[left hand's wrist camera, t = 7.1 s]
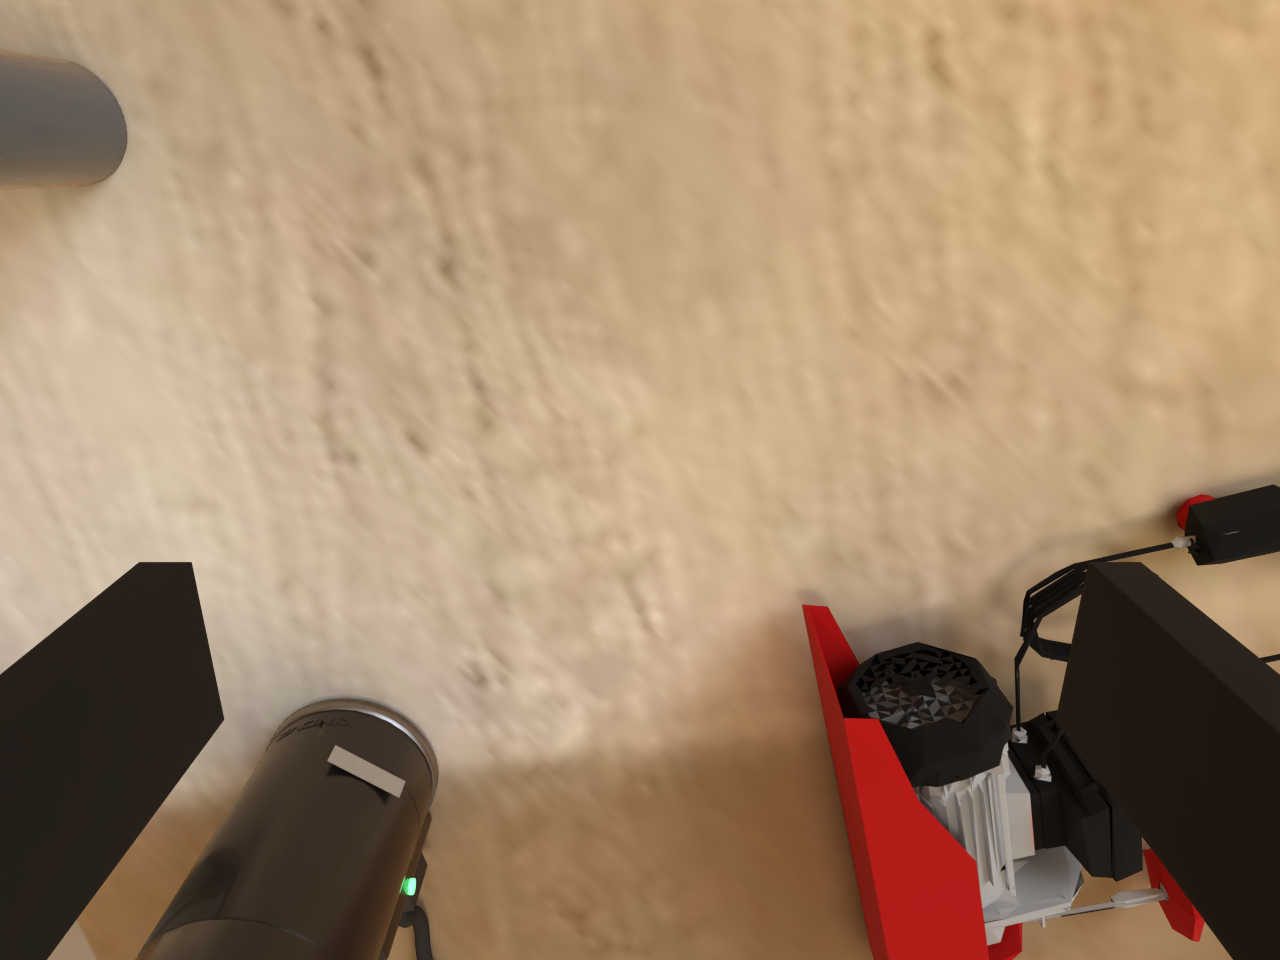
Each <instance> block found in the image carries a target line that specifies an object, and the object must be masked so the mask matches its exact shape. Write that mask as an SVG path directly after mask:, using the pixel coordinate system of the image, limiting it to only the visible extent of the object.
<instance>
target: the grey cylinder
mask: <svg viewBox="0 0 1280 960" xmlns="http://www.w3.org/2000/svg"><path fill="white" fill-rule="evenodd" d="M126 141H127V133H126V125H125V120H124V117H123V114H122V111H121V108H120V106H119V104H118V102H117V100H116V99H115V97H114V96H113V94H112V93H111V91H110V90H109V89H108V87H107V86H106V85H105V84H104V83H103V82H102V81H101V80H100V79H99V78H98V77H97V76H95V75H94V74H93V73H92V72H90V71H89V70H87V69H85V68H84V67H82V66H80V65H78V64H75V63H72V62H70V61H65V60H61V59H55V58H49V57H43V56H37V55H31V54H25V53H19V52H13V51H7V50H1V49H0V190H3V189H22V188H42V187H62V186H81V185H90V184H95V183H97V182H100V181H102V180H104V179H106V178H107V177H108V176H110V175H111V174H112V173H113V172H114V171H115V170H116V169H117V167H118V166H119V164H120V162H121V160H122V158H123V156H124V152H125V149H126Z"/></svg>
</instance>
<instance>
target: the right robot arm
mask: <svg viewBox="0 0 1280 960" xmlns="http://www.w3.org/2000/svg"><path fill="white" fill-rule="evenodd" d="M437 782H438V769H437V763H436V759H435V756H434V753H433V751H432V749H431V747H430V745H429V744H428V742H427V740H426V739H425V738H424V736H423V735H422V734H421V733H420V732H419V730H418V729H417V728H416V727H415V726H413V725H412V724H411V723H410V722H409V721H407V720H406V719H405V718H403V717H402V716H400V715H399V714H397V713H395V712H393V711H391V710H390V709H387V708H385V707H383V706H380V705H377V704H374V703H370V702H366V701H360V700H352V699H335V700H327V701H322V702H318V703H314V704H312V705H309V706H307V707H304V708H302V709H300V710H299V711H297V712H295V713H294V714H293V715H291V716H290V717H289V718H288V719H287V720H286V721H285V722H284V723H283V724H282V725H281V726H280V727H279V729H278V730H277V732H276V734H275V735H274V737H273V738H272V740H271V742H270V743H269V745H268V747H267V750H266V753H265V755H264V756H263V758H262V760H261V761H260V763H259V764H258V766H257V767H256V769H255V771H254V772H253V774H252V775H251V777H250V778H249V779H248V781H247V783H246V784H245V786H244V787H243V789H242V790H241V792H240V794H239V795H238V797H237V798H236V800H235V802H234V803H233V805H232V806H231V808H230V810H229V811H228V813H227V814H226V816H225V817H224V819H223V821H222V822H221V824H220V825H219V827H218V829H217V830H216V832H215V833H214V835H213V837H212V838H211V840H210V841H209V843H208V845H207V846H206V848H205V849H204V851H203V852H202V854H201V856H200V857H199V859H198V860H197V862H196V864H195V865H194V867H193V868H192V870H191V872H190V873H189V875H188V876H187V878H186V879H185V881H184V883H183V884H182V886H181V887H180V889H179V891H178V892H177V894H176V895H175V897H174V899H173V900H172V902H171V903H170V905H169V907H168V908H167V910H166V911H165V913H164V914H163V916H162V918H161V919H160V921H159V922H158V924H157V926H156V927H155V929H154V930H153V932H152V934H151V935H150V937H149V938H148V940H147V941H146V943H145V945H144V946H143V948H142V949H141V951H140V953H139V954H138V956H137V958H136V959H135V960H387V959H388V957H389V954H390V950H391V947H392V944H393V941H394V938H395V935H396V931H397V928H398V926H400V927H404V928H406V927H409V926H411V925H413V927H414V934H415V947H416V956H417V960H433V959H432V955H431V948H430V935H429V924H428V920H427V917H426V915H425V913H424V911H423V910H422V908H421V907H419V906H415V905H416V902H417V898H418V895H419V892H420V888H421V885H422V882H423V878H424V875H425V872H426V868H427V863H426V861H425V859H424V856H423V854H422V849H423V846H424V842H425V839H426V836H427V833H428V830H429V826H430V823H431V816H430V814H429V811H428V810H429V809H430V806H431V804H432V801H433V798H434V795H435V791H436V788H437Z"/></svg>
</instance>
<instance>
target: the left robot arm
mask: <svg viewBox="0 0 1280 960" xmlns="http://www.w3.org/2000/svg"><path fill="white" fill-rule="evenodd" d="M223 721H224V716H223V711H222V706H221V701H220V697H219V692H218V687H217V682H216V677H215V673H214V668H213V663H212V658H211V653H210V649H209V644H208V639H207V634H206V629H205V625H204V620H203V615H202V610H201V605H200V600H199V596H198V591H197V586H196V581H195V576H194V572H193V567H192V562H139V563H138V564H136V565H135V566H134V567H133V568H131V569H130V570H129V571H128V572H127V573H125V574H124V575H123V576H122V577H120V578H119V579H118V580H117V581H115V582H114V583H113V584H112V585H110V586H109V587H108V588H107V589H106V590H104V591H103V592H102V593H101V594H99V595H98V596H97V597H96V598H94V599H93V600H92V601H91V602H89V603H88V604H87V605H86V606H85V607H83V608H82V609H81V610H80V611H78V612H77V613H76V614H75V615H73V616H72V617H71V618H70V619H68V620H67V621H66V622H65V623H64V624H62V625H61V626H60V627H59V628H57V629H56V630H55V631H54V632H52V633H51V634H50V635H49V636H47V637H46V638H45V639H44V640H43V641H41V642H40V643H39V644H38V645H36V646H35V647H34V648H33V649H31V650H30V651H29V652H28V653H26V654H25V655H24V656H23V657H22V658H20V659H19V660H18V661H17V662H15V663H14V664H13V665H12V666H10V667H9V668H8V669H7V670H5V671H4V672H3V673H2V674H1V675H0V960H47V959H48V957H49V956H50V955H51V953H52V952H53V951H54V949H55V948H56V947H57V945H58V944H59V942H60V941H61V940H62V938H63V937H64V936H65V934H66V933H67V932H68V930H69V929H70V928H71V926H72V925H73V924H74V922H75V921H76V919H77V918H78V917H79V915H80V914H81V913H82V911H83V910H84V909H85V907H86V906H87V905H88V903H89V902H90V901H91V899H92V898H93V896H94V895H95V894H96V892H97V891H98V890H99V888H100V887H101V886H102V884H103V883H104V882H105V880H106V879H107V878H108V876H109V875H110V873H111V872H112V871H113V869H114V868H115V867H116V865H117V864H118V863H119V861H120V860H121V859H122V857H123V856H124V855H125V853H126V852H127V850H128V849H129V848H130V846H131V845H132V844H133V842H134V841H135V840H136V838H137V837H138V836H139V834H140V833H141V832H142V830H143V829H144V827H145V826H146V825H147V823H148V822H149V821H150V819H151V818H152V817H153V815H154V814H155V813H156V811H157V810H158V809H159V807H160V806H161V804H162V803H163V802H164V800H165V799H166V798H167V796H168V795H169V794H170V792H171V791H172V790H173V788H174V787H175V786H176V784H177V783H178V781H179V780H180V779H181V777H182V776H183V775H184V773H185V772H186V771H187V769H188V768H189V767H190V765H191V764H192V762H193V761H194V760H195V758H196V757H197V756H198V754H199V753H200V752H201V750H202V749H203V748H204V746H205V745H206V744H207V742H208V741H209V739H210V738H211V737H212V735H213V734H214V733H215V731H216V730H217V729H218V727H219V726H220V725H221V723H222V722H223ZM1056 721H1057V722H1058V723H1059V725H1060V726H1061V727H1062V729H1063V730H1064V731H1065V733H1066V734H1067V735H1068V737H1069V738H1070V739H1071V741H1072V742H1073V744H1074V745H1075V746H1076V748H1077V749H1078V750H1079V752H1080V753H1081V754H1082V756H1083V757H1084V758H1085V760H1086V761H1087V762H1088V764H1089V765H1090V767H1091V768H1092V769H1093V771H1094V772H1095V773H1096V775H1097V776H1098V777H1099V779H1100V780H1101V781H1102V783H1103V784H1104V786H1105V787H1106V788H1107V790H1108V791H1109V792H1110V794H1111V795H1112V796H1113V798H1114V799H1115V800H1116V802H1117V803H1118V804H1119V806H1120V807H1121V809H1122V810H1123V811H1124V813H1125V814H1126V815H1127V817H1128V818H1129V819H1130V821H1131V822H1132V823H1133V825H1134V826H1135V827H1136V829H1137V830H1138V832H1139V833H1140V834H1141V836H1142V837H1143V838H1144V840H1145V841H1146V842H1147V844H1148V845H1149V846H1150V848H1151V849H1152V850H1153V852H1154V853H1155V855H1156V856H1157V857H1158V859H1159V860H1160V861H1161V863H1162V864H1163V865H1164V867H1165V868H1166V869H1167V871H1168V872H1169V873H1170V875H1171V876H1172V878H1173V879H1174V880H1175V882H1176V883H1177V884H1178V886H1179V887H1180V888H1181V890H1182V891H1183V892H1184V894H1185V895H1186V896H1187V898H1188V899H1189V901H1190V902H1191V903H1192V905H1193V906H1194V907H1195V909H1196V910H1197V911H1198V913H1199V914H1200V915H1201V917H1202V918H1203V919H1204V921H1205V922H1206V924H1207V925H1208V926H1209V928H1210V929H1211V930H1212V932H1213V933H1214V934H1215V936H1216V937H1217V938H1218V940H1219V941H1220V942H1221V944H1222V945H1223V947H1224V948H1225V949H1226V951H1227V952H1228V953H1229V955H1230V956H1231V957H1232V959H1233V960H1280V675H1279V674H1278V673H1277V672H1276V671H1275V670H1273V669H1272V668H1271V667H1270V666H1268V665H1267V664H1266V663H1265V662H1263V661H1262V660H1261V659H1260V658H1258V657H1257V656H1256V655H1255V654H1254V653H1252V652H1251V651H1250V650H1249V649H1247V648H1246V647H1245V646H1244V645H1242V644H1241V643H1240V642H1239V641H1237V640H1236V639H1235V638H1234V637H1233V636H1231V635H1230V634H1229V633H1228V632H1226V631H1225V630H1224V629H1223V628H1221V627H1220V626H1219V625H1218V624H1216V623H1215V622H1214V621H1213V620H1212V619H1210V618H1209V617H1208V616H1207V615H1205V614H1204V613H1203V612H1202V611H1200V610H1199V609H1198V608H1197V607H1195V606H1194V605H1193V604H1192V603H1191V602H1189V601H1188V600H1187V599H1186V598H1184V597H1183V596H1182V595H1181V594H1179V593H1178V592H1177V591H1176V590H1174V589H1173V588H1172V587H1171V586H1170V585H1168V584H1167V583H1166V582H1165V581H1163V580H1162V579H1161V578H1160V577H1158V576H1157V575H1156V574H1155V573H1153V572H1152V571H1151V570H1150V569H1149V568H1147V567H1146V566H1145V565H1144V564H1142V563H1141V562H1088V567H1087V572H1086V576H1085V581H1084V586H1083V591H1082V596H1081V600H1080V605H1079V610H1078V615H1077V620H1076V625H1075V629H1074V634H1073V639H1072V644H1071V649H1070V653H1069V658H1068V663H1067V668H1066V673H1065V677H1064V682H1063V687H1062V692H1061V697H1060V701H1059V706H1058V711H1057V716H1056Z"/></svg>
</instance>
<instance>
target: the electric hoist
mask: <svg viewBox="0 0 1280 960" xmlns="http://www.w3.org/2000/svg"><path fill="white" fill-rule="evenodd" d="M1177 521H1178V526H1179V527H1180V528H1182V529H1183V530H1184V531H1185V536H1184V537H1175V538H1174V539H1173V540H1172V541H1171V543H1166V544H1162V545H1157V546H1153V547H1148V548H1143V549H1139V550H1134V551H1130V552H1125V553H1120V554H1116V555H1111V556H1107V557H1102V558H1097V559H1093V560H1088V561H1084V562H1079V563H1074V564H1072V565H1070V566H1068V567H1066V568H1064V569H1061V570H1059V571H1057V572H1055V573H1054V574H1052V575H1051V576H1049V577H1048V578H1046V579H1044V580H1043V581H1041V582H1040V583H1038V584H1037V585H1035V586H1034V587H1032V588H1031V589H1029V590H1027V592H1026V595H1025V598H1024V603H1023V616H1022V626H1021V633H1020V636H1021V637H1024V638H1023V641H1024V642H1023V644H1022V646H1021V648H1020V650H1019V651H1018V653H1017V655H1016V657H1015V693H1016V724H1015V725H1011V726H1009V723H1010V719H1011V715H1012V710H1013V707H1012V705H1011V704H1010V703H1009V701H1008V700H1007V698H1006V697H1005V696H1004V694H1003V693H1002V692H1001V690H1000V689H999V687H998V686H997V682H996V679H994V678H993V677H991V676H990V675H989V674H988V672H987V671H986V669H985V668H984V667H983V665H982V664H981V663H980V662H979V661H978V660H977V659H976V658H972V657H969V656H965V655H962V654H958V653H955V652H951V651H947V650H944V649H940V648H937V647H933V646H930V645H926V644H922V643H919V642H916V643H913V644H909V645H906V646H902V647H899V648H895V649H892V650H888V651H885V652H881V653H878V654H876V655H874V656H873V657H871V658H870V659H868V660H867V661H865V662H864V663H862V664H861V665H859V663H858V661H857V659H856V657H855V655H854V654H853V652H852V650H851V648H850V646H849V645H848V643H847V641H846V639H845V637H844V635H843V634H842V632H841V630H840V628H839V626H838V625H837V623H836V621H835V619H834V617H833V615H832V614H831V612H830V610H829V608H828V607H824V606H813V605H802V608H803V613H804V618H805V623H806V628H807V633H808V638H809V643H810V648H811V653H812V658H813V663H814V668H815V673H816V678H817V683H818V688H819V693H820V698H821V703H822V708H823V713H824V718H825V723H826V728H827V733H828V738H829V743H830V748H831V753H832V758H833V763H834V768H835V773H836V778H837V783H838V788H839V793H840V798H841V803H842V808H843V813H844V818H845V823H846V828H847V833H848V838H849V843H850V848H851V853H852V858H853V863H854V868H855V873H856V878H857V883H858V888H859V893H860V898H861V903H862V908H863V913H864V918H865V923H866V928H867V933H868V938H869V943H870V947H871V951H872V954H873V957H874V960H1013V959H1014V958H1015V957H1016V956H1017V955H1018V954H1019V953H1020V952H1022V923H1027V922H1033V921H1039V922H1040V924H1041V926H1042V928H1044V927H1045V919H1051V918H1057V917H1063V916H1069V915H1075V914H1081V913H1088V912H1094V911H1100V910H1106V909H1112V908H1118V907H1122V908H1130V907H1134V906H1139V905H1143V904H1148V903H1152V902H1157V901H1159V903H1160V905H1161V907H1162V909H1163V911H1164V913H1165V915H1166V917H1167V919H1168V921H1169V923H1170V925H1171V927H1172V929H1174V930H1175V931H1177V932H1179V933H1180V934H1182V935H1184V936H1185V937H1187V938H1189V939H1190V940H1192V941H1198V942H1199V940H1200V937H1201V933H1202V929H1203V925H1204V922H1205V921H1204V919H1203V918H1202V917H1201V915H1200V914H1199V913H1198V911H1197V910H1196V909H1195V907H1194V906H1193V905H1192V903H1191V902H1190V901H1189V899H1188V898H1187V896H1186V895H1185V894H1184V892H1183V891H1182V890H1181V888H1180V887H1179V886H1178V884H1177V883H1176V882H1175V880H1174V879H1173V878H1172V876H1171V875H1170V873H1169V872H1168V871H1167V869H1166V868H1165V867H1164V865H1163V864H1162V863H1161V861H1160V860H1159V859H1158V857H1157V856H1156V855H1155V853H1154V852H1153V850H1152V849H1149V850H1143V851H1144V855H1145V860H1146V865H1147V869H1148V874H1149V879H1150V883H1151V889H1142V890H1132V891H1123V892H1119V893H1117V894H1115V895H1113V896H1111V902H1108V903H1103V904H1097V905H1092V906H1086V907H1081V908H1076V909H1070V907H1071V903H1072V902H1073V900H1074V898H1075V897H1076V895H1077V893H1078V892H1079V890H1080V888H1081V886H1082V885H1083V883H1084V880H1083V876H1082V873H1081V868H1082V866H1083V867H1084V868H1085V869H1086V870H1087V871H1088V872H1089V874H1090V875H1091V876H1092V877H1107V878H1113V879H1114V880H1115V881H1116V882H1117V881H1119V880H1122V879H1124V878H1126V877H1128V876H1131V875H1133V874H1135V873H1137V872H1140V871H1142V870H1143V866H1142V836H1141V834H1140V833H1139V832H1138V830H1137V829H1136V827H1135V826H1134V825H1133V823H1132V822H1131V821H1130V819H1129V818H1128V817H1127V815H1126V814H1125V813H1124V811H1123V810H1122V809H1121V807H1120V806H1119V804H1118V803H1117V802H1116V800H1115V799H1114V798H1113V796H1112V795H1111V794H1110V792H1109V791H1108V790H1107V788H1106V787H1105V786H1104V784H1103V783H1102V781H1101V780H1100V779H1099V777H1098V776H1097V775H1096V773H1095V772H1094V771H1093V769H1092V768H1091V767H1090V765H1089V764H1088V762H1087V761H1086V760H1085V758H1084V757H1083V756H1082V754H1081V753H1080V752H1079V750H1078V749H1077V748H1076V746H1075V745H1074V744H1073V742H1072V741H1071V739H1070V738H1069V737H1068V735H1067V734H1066V733H1065V731H1064V730H1063V729H1062V727H1061V726H1060V725H1059V723H1058V722H1057V721H1056V716H1057V711H1058V710H1056V711H1050V712H1046V716H1045V714H1044V713H1042V714H1041V715H1039V716H1037V717H1035V718H1033V719H1032V720H1030V721H1028V722H1024V723H1021V720H1020V678H1019V665H1020V663H1021V661H1022V659H1023V657H1024V655H1025V653H1026V651H1027V649H1028V647H1029V645H1030V647H1031V648H1033V649H1034V650H1035V651H1036V652H1037V653H1038V654H1039V655H1040V656H1042V657H1045V658H1050V659H1051V660H1054V659H1055V660H1060V661H1065V662H1068V658H1069V653H1070V649H1071V644H1068V643H1062V642H1057V641H1051V640H1046V639H1043V638H1040V637H1038V634H1037V628H1038V626H1039V624H1040V622H1041V620H1042V618H1043V617H1045V616H1047V615H1048V614H1050V613H1051V612H1053V611H1055V610H1056V609H1058V608H1060V607H1061V606H1063V605H1064V604H1066V603H1068V602H1069V601H1071V600H1073V599H1074V598H1076V597H1077V596H1079V595H1081V594H1082V591H1083V586H1084V583H1083V582H1084V581H1085V576H1086V572H1087V571H1085V572H1083V571H1084V570H1086V569H1087V567H1088V562H1108V561H1113V560H1117V559H1122V558H1127V557H1131V556H1136V555H1141V554H1145V553H1150V552H1155V551H1160V550H1164V549H1169V548H1176V549H1180V548H1184V547H1187V548H1188V549H1189V552H1188V553H1191V555H1192V557H1193V558H1194V560H1195V562H1196V564H1197V566H1198V565H1210V564H1222V563H1227V562H1232V561H1236V560H1241V559H1246V558H1251V557H1255V556H1260V555H1265V554H1270V553H1274V552H1279V551H1280V487H1278V486H1276V485H1270V486H1266V487H1261V488H1257V489H1253V490H1249V491H1245V492H1241V493H1237V494H1233V495H1229V496H1225V497H1221V498H1217V499H1215V498H1213V497H1212V496H1210V495H1202V494H1201V495H1198V496H1195V497H1193V498H1190V499H1189V500H1187V501H1186V502H1185V503H1184V504H1183V505H1181V507H1180V510H1179V512H1178V515H1177ZM1073 569H1074V570H1073ZM1071 570H1072V571H1071ZM1069 571H1071V572H1069ZM1068 572H1069V573H1068ZM1066 573H1068V574H1066ZM1153 573H1154V572H1153ZM1064 574H1066V575H1064ZM1063 575H1064V576H1063ZM1156 575H1157V574H1156ZM1061 576H1063V577H1061ZM1157 576H1158V575H1157ZM1059 577H1061V578H1060V579H1058V580H1057V581H1055V582H1053V583H1052V584H1050V585H1049V586H1047V587H1046V588H1044V589H1043V590H1041V591H1039V592H1038V593H1036V594H1035V595H1033V596H1032V597H1030V595H1031V594H1032V593H1034V592H1035V591H1037V590H1039V589H1040V588H1042V587H1044V586H1046V585H1047V584H1049V583H1051V582H1052V581H1054V580H1056V579H1057V578H1059ZM1080 584H1081V585H1080ZM1079 585H1080V586H1079ZM1076 587H1077V588H1076ZM1029 600H1030V601H1029ZM1031 605H1032V606H1031ZM1030 606H1031V607H1030ZM1035 618H1037V619H1036V621H1035V623H1034V619H1035ZM1025 625H1026V626H1025ZM1025 630H1026V631H1025ZM1024 631H1025V632H1024ZM1260 659H1261V660H1262V661H1263V662H1265V663H1267V662H1272V661H1277V660H1280V654H1277V655H1273V656H1268V657H1263V658H1260ZM1066 909H1067V910H1066Z"/></svg>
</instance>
